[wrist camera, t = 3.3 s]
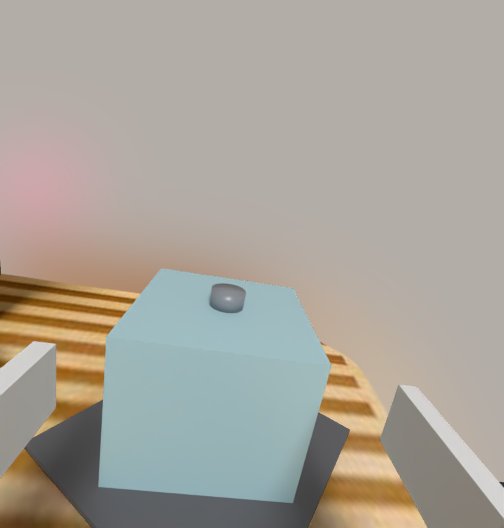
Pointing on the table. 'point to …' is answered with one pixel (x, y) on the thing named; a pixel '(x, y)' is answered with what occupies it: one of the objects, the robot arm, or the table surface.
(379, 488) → the table surface
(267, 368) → the cover tub
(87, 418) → the rubber mat
